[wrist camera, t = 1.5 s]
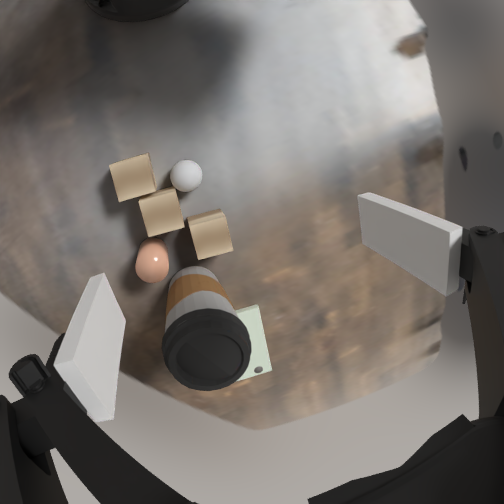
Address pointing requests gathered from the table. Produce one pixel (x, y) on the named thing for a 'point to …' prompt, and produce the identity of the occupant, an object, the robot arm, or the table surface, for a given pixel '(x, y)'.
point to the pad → (255, 342)
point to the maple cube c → (210, 234)
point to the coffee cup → (203, 332)
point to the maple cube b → (161, 211)
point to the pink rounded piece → (152, 260)
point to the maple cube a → (133, 177)
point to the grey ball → (186, 175)
